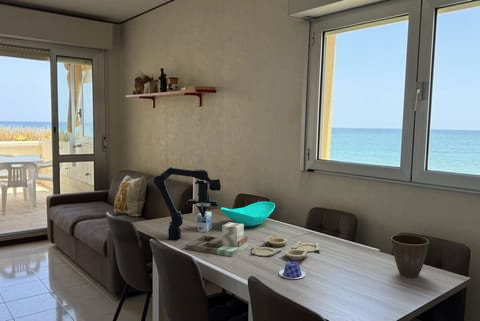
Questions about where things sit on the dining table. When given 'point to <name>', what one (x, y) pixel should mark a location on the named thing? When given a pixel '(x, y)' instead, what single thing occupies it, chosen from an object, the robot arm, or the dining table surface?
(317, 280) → the dining table surface
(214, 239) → the board
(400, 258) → the plant pot
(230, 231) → the ash block
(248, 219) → the table top decor
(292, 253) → the tableware set
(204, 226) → the light bulb box
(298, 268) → the purple patterned hat
